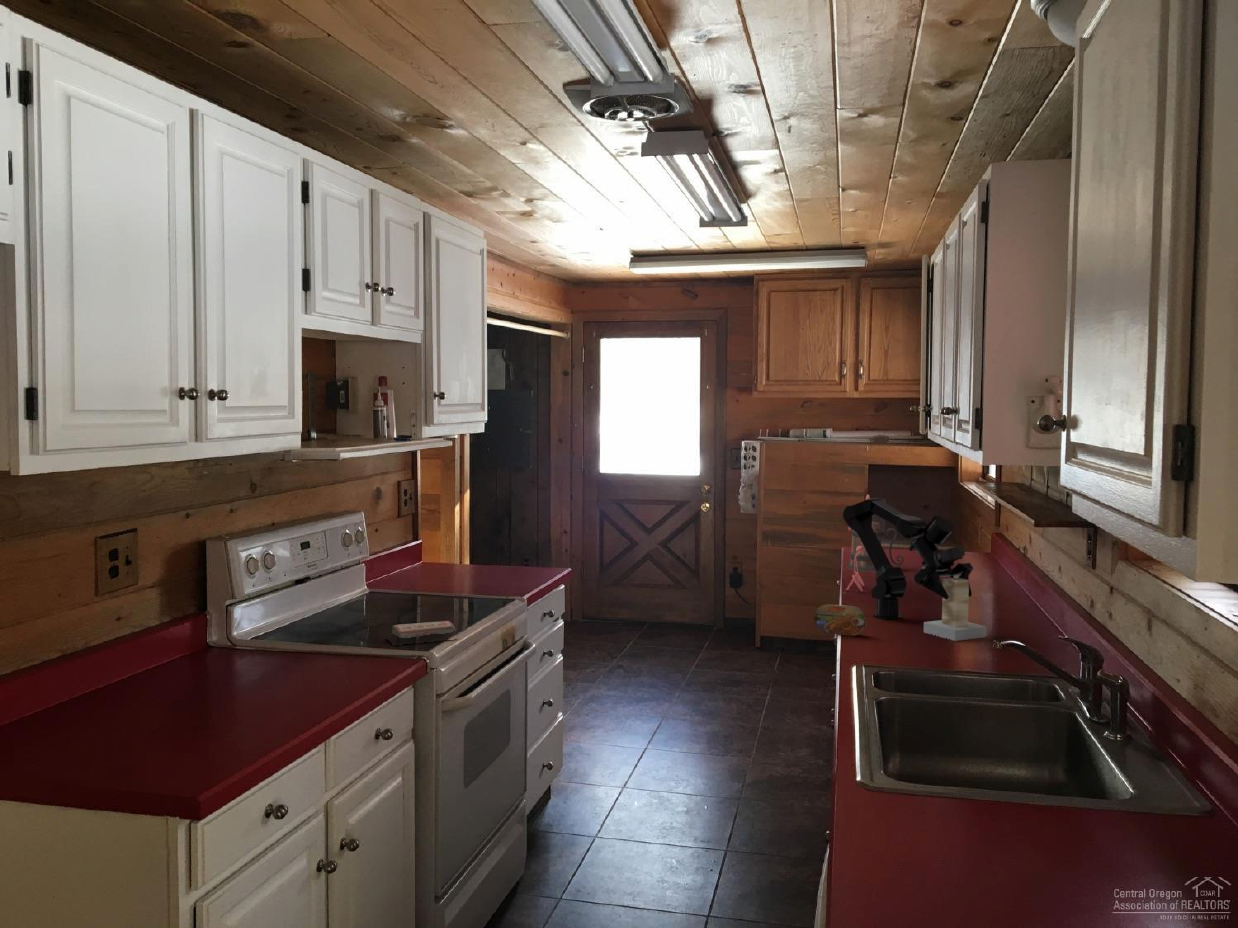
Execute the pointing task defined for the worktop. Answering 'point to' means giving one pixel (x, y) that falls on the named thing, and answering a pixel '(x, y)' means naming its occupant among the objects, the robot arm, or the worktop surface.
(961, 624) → the birch block
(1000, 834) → the worktop surface
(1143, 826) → the worktop surface
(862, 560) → the tankard
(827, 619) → the tin
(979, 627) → the plinth
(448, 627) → the packaged product
